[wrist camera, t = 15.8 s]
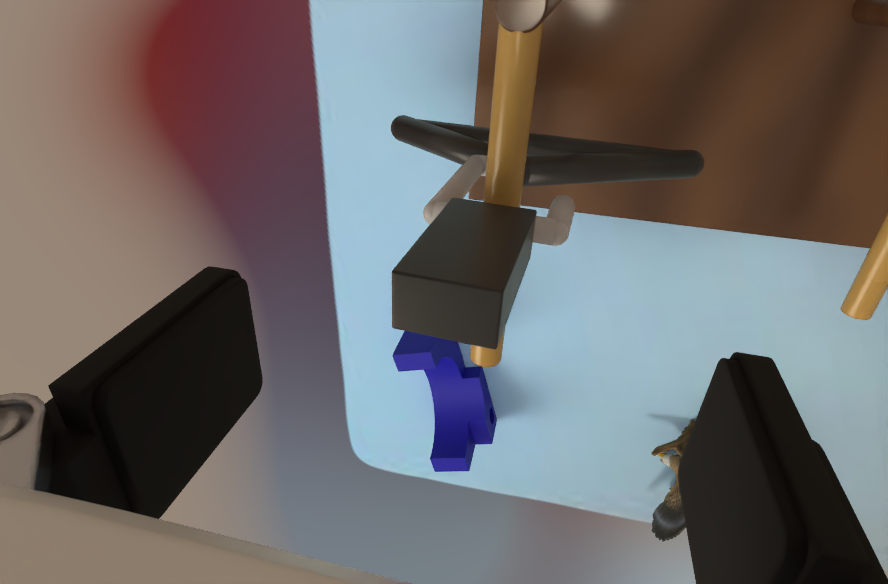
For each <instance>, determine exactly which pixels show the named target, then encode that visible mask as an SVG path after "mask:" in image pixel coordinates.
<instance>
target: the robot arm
mask: <svg viewBox="0 0 888 584" xmlns="http://www.w3.org/2000/svg"><path fill="white" fill-rule="evenodd" d="M261 387H262V373H261V366H260V360H259V354H258V347H257V341H256V335H255V329H254V323H253V316H252V310H251V304H250V297H249V292H248V286H247V282H246V281H245V280H244V279H242V278H241V276H240V274H239V273H238V272H237V271H235V270H230V269H224V268H217V267H207V268H205V269H203V270H202V271H201V272H199V273H198V274H197V275H195V276H194V277H193V278H191V279H190V280H189V281H187V282H186V283H185V284H183V285H182V286H181V287H179V288H178V289H177V290H175V291H174V292H173V293H171V294H170V295H169V296H167V297H166V298H165V299H163V300H162V301H161V302H159V303H158V304H157V305H155V306H154V307H153V308H151V309H150V310H149V311H147V312H146V313H145V314H143V315H142V316H141V317H139V318H138V319H137V320H135V321H134V322H133V323H131V324H130V325H129V326H127V327H126V328H125V329H123V330H122V331H121V332H119V333H118V334H117V335H115V336H114V337H113V338H112V339H110V340H109V341H107V342H106V343H105V344H103V345H102V346H101V347H99V348H98V349H97V350H95V351H94V352H93V353H91V354H90V355H89V356H87V357H86V358H85V359H83V360H82V361H81V362H79V363H78V364H76V365H75V366H74V367H73V368H71V369H70V370H68V371H67V372H66V373H65V374H63V375H62V376H61V377H59V378H58V379H56V380H55V381H54V382H52V383H51V384H50V385H49V389H50V391H51V393H52V396H53V398H52V399H51V400H49V401H48V402H47V403H45V404H44V402H43V401H41V400H40V399H39V398H38V397H37V396H34V395H30V394H24V393H12V394H5V395H0V584H411V583H407V582H403V581H399V580H396V579H392V578H388V577H384V576H380V575H376V574H373V573H369V572H365V571H361V570H357V569H353V568H349V567H345V566H342V565H338V564H334V563H330V562H326V561H322V560H318V559H314V558H310V557H307V556H302V555H299V554H295V553H290V552H287V551H283V550H279V549H275V548H271V547H268V546H263V545H260V544H256V543H251V542H247V541H244V540H240V539H236V538H232V537H228V536H224V535H220V534H216V533H212V532H208V531H204V530H200V529H196V528H192V527H188V526H184V525H180V524H176V523H172V522H168V521H164V520H160V519H159V518H160V517H161V516H162V515H163V514H164V512H165V511H166V510H167V509H168V507H169V506H170V505H171V503H172V502H173V501H174V500H175V499H176V497H177V496H178V495H179V493H180V492H181V491H182V489H184V487H185V486H186V485H187V483H188V482H189V481H190V480H191V478H192V477H193V476H194V475H195V474H196V472H197V471H198V469H199V468H200V467H201V466H202V465H203V463H204V462H205V461H206V460H207V458H208V457H209V456H210V455H211V453H212V452H213V451H214V450H215V448H216V447H217V446H218V445H219V443H220V442H221V441H222V440H223V438H224V437H225V436H226V435H227V433H228V432H229V431H230V430H231V428H232V427H233V426H234V425H235V423H236V422H237V421H238V420H239V418H240V417H241V416H242V414H243V413H244V412H245V411H246V409H247V408H248V407H249V406H250V405H251V403H252V402H253V401H254V400H255V398H256V397H257V396H258V394H259V392H260V390H261ZM678 483H679V489H680V495H681V500H682V506H683V512H684V517H685V523H686V529H687V534H688V540H689V545H690V551H691V557H692V562H693V568H694V574H695V579H696V584H888V579H887V577H886V575H885V573H884V571H883V569H882V567H881V565H880V563H879V561H878V559H877V557H876V554H875V552H874V550H873V548H872V546H871V544H870V542H869V540H868V538H867V536H866V534H865V532H864V530H863V528H862V526H861V524H860V522H859V520H858V518H857V516H856V514H855V512H854V510H853V508H852V506H851V504H850V502H849V500H848V498H847V496H846V494H845V492H844V490H843V488H842V486H841V484H840V482H839V480H838V478H837V476H836V474H835V472H834V470H833V468H832V466H831V464H830V462H829V460H828V458H827V456H826V454H825V452H824V450H823V449H822V448H821V446H820V445H819V444H818V443H817V442H815V441H813V440H812V439H811V437H810V435H809V433H808V431H807V429H806V427H805V425H804V423H803V420H802V418H801V416H800V414H799V412H798V410H797V408H796V406H795V404H794V402H793V400H792V398H791V396H790V394H789V391H788V389H787V387H786V385H785V383H784V381H783V379H782V377H781V375H780V373H779V371H778V369H777V367H776V365H775V363H774V361H773V360H772V359H771V358H769V357H763V356H757V355H751V354H745V353H739V352H736V353H733V355H732V356H731V357H730V359H726V358H722V359H720V361H719V362H718V364H717V367H716V369H715V372H714V374H713V377H712V380H711V382H710V385H709V387H708V390H707V393H706V395H705V398H704V400H703V403H702V406H701V408H700V411H699V414H698V416H697V419H696V421H695V424H694V427H693V429H692V432H691V434H690V437H689V440H688V442H687V445H686V447H685V450H684V453H683V455H682V458H681V460H680V464H679V469H678Z"/></svg>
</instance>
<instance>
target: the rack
mask: <svg viewBox="0 0 888 584" xmlns="http://www.w3.org/2000/svg"><path fill="white" fill-rule="evenodd" d="M474 126H478V127H487V128H490V132H489V143H488V155H487V166H486V176H480V177H479V178H478V180H477V181H476V182H475V184H474V185H473V186H472V187H471V189H470V190H469V199H474V200H482V201H483V202H486V203H492V204H499V205H505V206H512V207H518V208H520V205H523V206H531V207H539V208H547V209H550V206H551V204H552V201H553V200H554V199H555V198H556V197H557V196H560V195H567V196H569V197H571V198H572V199H573V201H574V203H575V211H574V212H579V213H588V214H596V215H604V216H612V217H620V218H628V219H636V220H644V221H653V222H661V223H669V224H677V225H685V226H693V227H701V228H709V229H718V230H726V231H734V232H742V233H750V234H758V235H766V236H774V237H783V238H791V239H799V240H807V241H815V242H823V243H831V244H839V245H848V246H856V247H864V248H870V250H869V252H868V254H867V256H866V258H865V260H864V262H863V264H862V266H861V268H860V270H859V272H858V274H857V276H856V278H855V280H854V282H853V284H852V286H851V288H850V290H849V292H848V294H847V296H846V298H845V300H844V302H843V304H842V306H841V311H842V312H843V313H845V314H846V315H848V316H850V317H853V318H856V319H860V320H868V319H870V318H871V317H872V315H873V313H874V311H875V310H876V308H877V306H878V304H879V302H880V300H881V299H882V297H883V295H884V293H885V291H886V289H887V287H888V0H483V10H482V24H481V38H480V51H479V65H478V79H477V93H476V106H475V120H474ZM529 133H537V134H545V135H554V136H562V137H570V138H579V139H587V140H595V141H604V142H612V143H621V144H629V145H637V146H646V147H654V148H662V149H671V150H696V151H698V152H699V153H701V154H702V156H703V158H704V167H703V169H702V171H701V172H700V173H699V174H698V175H697V176H695V177H692V178H684V179H664V180H645V181H625V182H606V183H586V184H567V185H547V186H527V187H523V181H524V173H525V165H526V157H527V149H528V141H529ZM504 332H505V328H504V331H503V334H502V336H501V339H500V342H499V345H498V347H497V349H496V350H493V349H489V348H484V347H479V346H475V345H471V349H470V358H471V360H472V361H473V362H474V363H475V364H477V365H479V366H482V367H492V366H495V365H497V364H498V363H499V362H500V361H501V356H502V348H503V340H504Z"/></svg>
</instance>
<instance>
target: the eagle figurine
mask: <svg viewBox="0 0 888 584" xmlns="http://www.w3.org/2000/svg"><path fill="white" fill-rule="evenodd" d="M694 424H695V421H694V420H691V421H690V424H689V425H688V427H685V429H684V431H682V435H681V436H680V437H678V439H677V440H674V441H672V442H670V443H667V444H664V445H661V446H658V447H656V448H655V449H654V450H653V452H652V455H653V456H655V455H657V454H658V455H659V456H660V460H661V462H663V463H664V464H666V465H667V466H669V467H671V468H672V469H673V470H674V472H675V473H676V482H675V485H674V486H672V487H670V490H671V491H670V492H669V493H668V494H667V495H666V497H665V500H664V502H663V503H661V504H660V505H659V506H658V507H657V508H656V510H655V511H654V513H653V519H654V520H653V522H652V527H653V528H652V532H653V533H655V536H656V537H657V538H659V540H661V539H662V541H665V540H669V539H672V538H673V537H676V536H677V535H679V534H680V533H681V532H682V531H683V530H684V529H685V528H686V523H685V517H684V512H683V506H682V500H681V495H680V489H679V483H678V469H679V464H680V460H681V458H682V455H683V453H684V450H685V447H686V445H687V442H688V440H689V437H690V434H691V432H692V429H693V427H694ZM670 449H674V450H676V451H677V453H678V454H677V455H673V454H672V455H671V454H667V453H663V452H665V451H667V450H670Z"/></svg>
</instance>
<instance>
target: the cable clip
mask: <svg viewBox="0 0 888 584" xmlns="http://www.w3.org/2000/svg"><path fill="white" fill-rule="evenodd" d="M393 358H394V361H395V364H396V366H397V369H398V371H411V370H423V369H424V371H425V373H426V375H427V378H428V380H429V383H430V387H431V391H432V396H433V402H434V412H435V434H434V443H433V449H432V454H431V457H430V460H431V462H432V465H433V468H434V471H435V472H442V471H469V470H470V465H471V461H472V457H473V452H474V448H475V444H492V442H493V437H494V432H495V426H496V421H497V419H496V415H495V411H494V408H493V404H492V401H491V397H490V393H489V390H488V386H487V383H486V379H485V375H484V372H483V368H482V366H481V367H469V368H465V365H464V362H463V358H462V355H461V352H460V348H459V345H458V342H456V341H451V340H447V339H442V338H437V337H433V336H428V335H423V334H419V333H414V332H409V331H404V333H403V335H402V337H401V339H400V341H399V343H398V345H397V347H396V349H395V351H394V353H393Z"/></svg>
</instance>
